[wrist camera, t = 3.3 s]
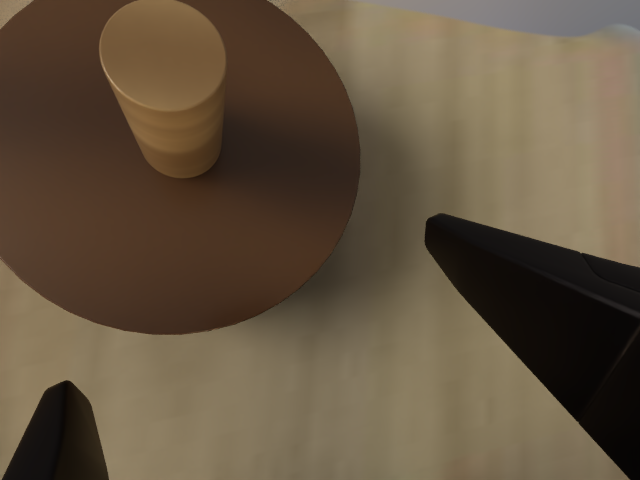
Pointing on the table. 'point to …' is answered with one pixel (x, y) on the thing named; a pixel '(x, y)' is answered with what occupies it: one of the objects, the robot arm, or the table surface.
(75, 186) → the lid
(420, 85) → the table surface
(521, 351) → the robot arm
